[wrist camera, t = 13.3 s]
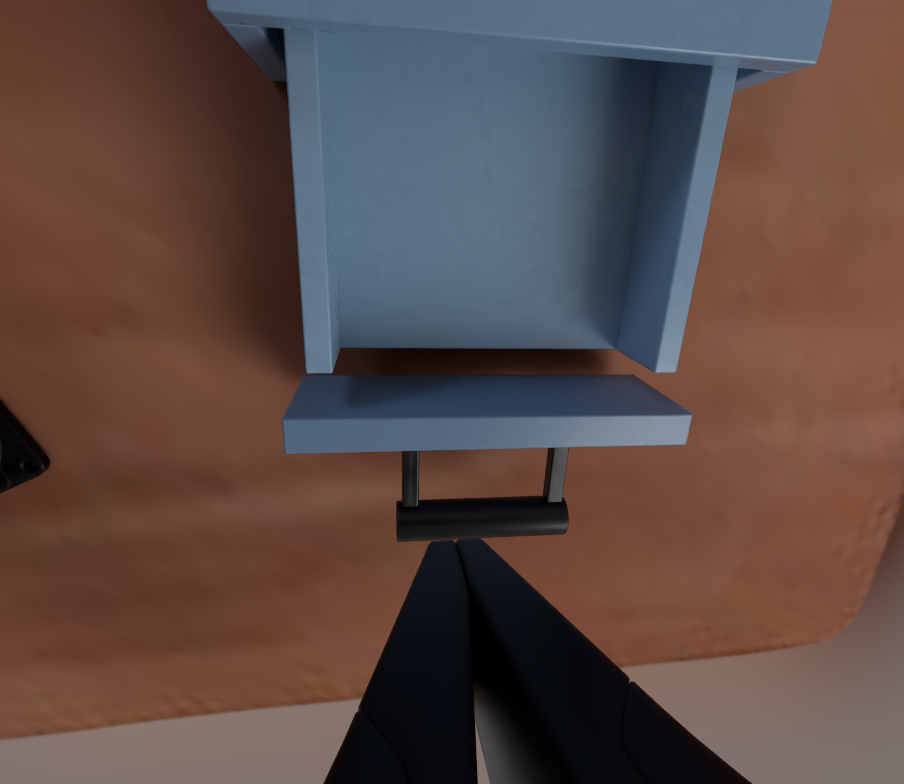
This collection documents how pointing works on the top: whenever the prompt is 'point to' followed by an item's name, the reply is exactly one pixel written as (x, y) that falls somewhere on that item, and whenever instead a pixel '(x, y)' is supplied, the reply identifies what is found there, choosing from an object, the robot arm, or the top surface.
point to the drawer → (493, 250)
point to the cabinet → (555, 28)
